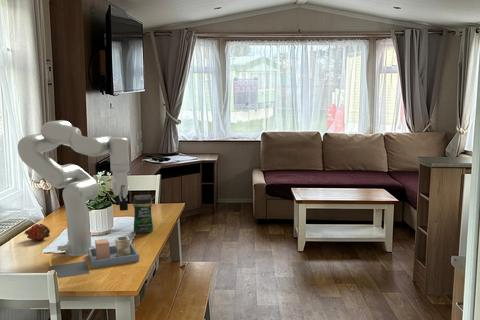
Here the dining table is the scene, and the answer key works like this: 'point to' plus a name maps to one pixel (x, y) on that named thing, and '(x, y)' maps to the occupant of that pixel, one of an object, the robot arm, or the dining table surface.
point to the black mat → (71, 269)
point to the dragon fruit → (38, 232)
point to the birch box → (122, 246)
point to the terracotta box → (102, 249)
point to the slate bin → (113, 257)
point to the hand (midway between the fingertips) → (121, 207)
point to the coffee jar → (142, 213)
